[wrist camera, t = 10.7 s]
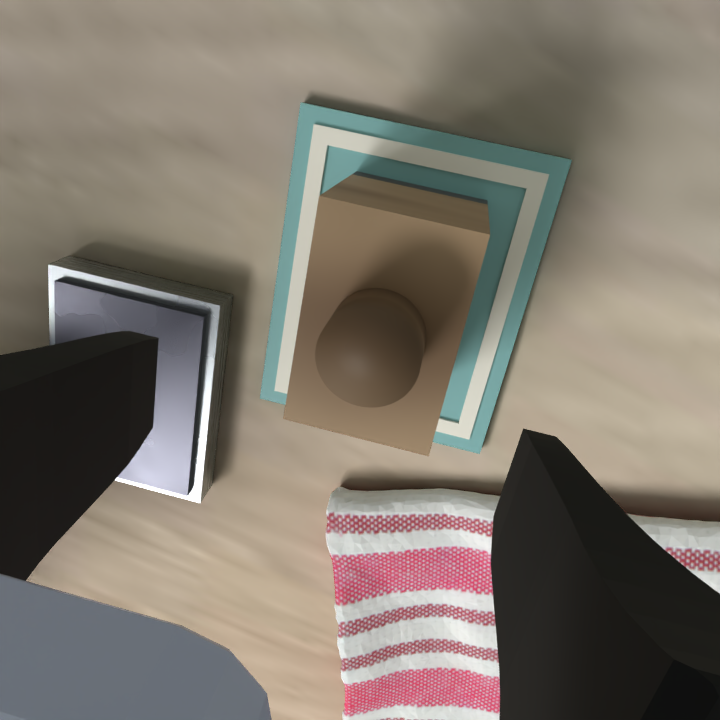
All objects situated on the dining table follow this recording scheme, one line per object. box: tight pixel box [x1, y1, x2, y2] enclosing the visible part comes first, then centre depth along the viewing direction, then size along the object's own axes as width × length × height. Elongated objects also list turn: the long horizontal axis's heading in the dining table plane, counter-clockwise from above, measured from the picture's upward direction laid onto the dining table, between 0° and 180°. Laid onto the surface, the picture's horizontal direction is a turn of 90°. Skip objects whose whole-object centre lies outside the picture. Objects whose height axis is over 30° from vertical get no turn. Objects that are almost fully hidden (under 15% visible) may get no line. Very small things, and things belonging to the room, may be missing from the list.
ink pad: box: [48, 256, 233, 503], centre depth 23 cm, size 8×6×2 cm
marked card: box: [260, 103, 572, 454], centre depth 21 cm, size 10×8×1 cm
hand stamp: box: [283, 171, 490, 456], centre depth 17 cm, size 6×4×7 cm, turn 169°
